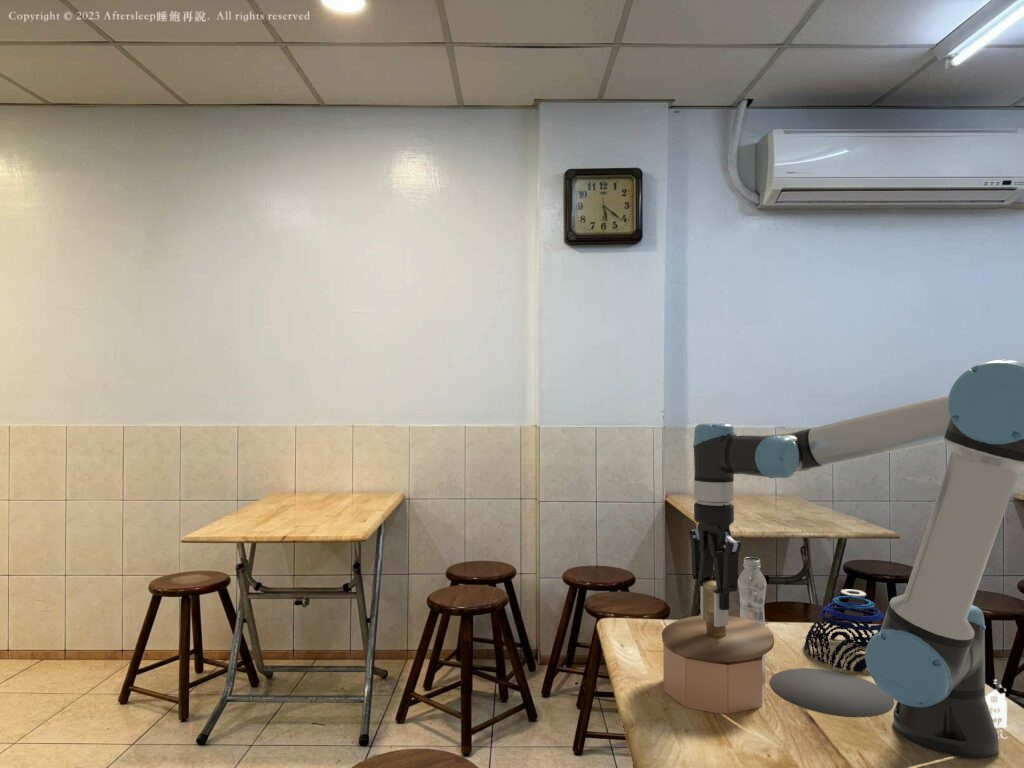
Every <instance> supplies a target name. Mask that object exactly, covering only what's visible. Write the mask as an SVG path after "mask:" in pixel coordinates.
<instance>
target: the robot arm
mask: <svg viewBox="0 0 1024 768" xmlns="http://www.w3.org/2000/svg"><path fill="white" fill-rule="evenodd" d="M693 435H694V437H693V445H692V448H693V460H694V461H693V464H694V465H693V466H694V468H693V469H694V476H693V478H694V479H693V499H694V500H695V503H694V504H693V520H694V521H695V522H696V523H698V525H697V528H695V529H689V530H688V534H689V540H690V547H691V548H690V549H691V550H690V551H691V574H692V576H691V577H692V579H693V580H695V581H697V584H698V585H699V600H700V616H701V619H702V620H706V615H705V603H704V591H703V583H704V582H706V581H714V580H713V579H712V578H713V570H714V577H715V581H716V586H717V590H714V626H715V627H720V626H728V616H729V609H730V593H732V592H737V591H738V578H739V557H740V554H739V553H740V550H741V547H742V542H741V541H740V540H735V539H734V538H733V537H732V533H731V530H730V525H731V524H733V523H734V521H735V506H734V505H733V503H732V502H733V501H734V500H735V499H734V480H735V479H734V478H735V477H734V476H735V475H744V476H745V475H747V476H754V477H755V476H757V477H762V478H763V477H764V478H769V479H776V478H777V479H788V478H792V476H793V475H794V473H796V472H804V471H808V470H811V469H815V468H820V467H824V466H828V465H832V464H840V463H843V462H849V461H854V460H859V459H864V458H868V457H874V456H878V455H884V454H888V453H889V454H890V453H894V452H899V451H904V450H910V449H915V448H918V447H920V448H921V447H924V446H929V445H935V444H939V443H944V442H945V444H946V445H947V447H948V448H949V451H950V457H949V459H948V462H947V465H946V468H945V471H944V475H943V477H942V480H941V483H940V486H939V489H938V493H937V495H936V499H935V501H934V504H933V507H932V510H931V513H930V516H929V519H928V522H927V525H926V528H925V532H924V533H923V538H922V540H921V543H920V546H919V549H918V551H917V555H916V558H915V561H914V564H913V567H912V570H911V573H910V576H909V579H908V583H907V586H906V588H905V590H904V591H905V592H904V593H902V594H900V595H897V596H893V597H892V598H891V599H890V601H889V603H888V606H887V610H886V612H885V614H884V620H882V621H883V622H882V623H883V624H882V623H881V624H882V627H881V629H880V631H879V632H878V631H877V632H874V634H875V635H873V636H872V638H871V639H870V641H869V643H868V645H867V647H865V650H866V652H864V654H865V656H864V658H865V660H866V665H867V667H866V669H867V671H868V674H870V677H871V678H872V679H873V683H874V684H876V685H877V686H878V687H879V688H880V689H881V690H882V691H883V692H884V693H886V694H887V695H888V696H890V697H891V698H893V700H894V701H896V706H895V707H894V709H893V717H892V718H893V727H894V729H895V730H896V732H897V733H898V734H899V735H900V736H902V737H903V738H904V739H906V740H908V741H910V742H911V743H913V744H915V745H917V746H920V747H922V748H924V749H927V750H931V751H933V752H937V753H941V754H945V755H950V756H952V757H954V758H960V759H961V758H963V759H984V758H989V757H992V756H994V755H996V754H997V753H998V752H999V748H1000V747H999V733H998V730H997V728H996V726H995V724H994V721H993V717H992V714H991V711H990V709H989V705H988V703H987V699H986V647H985V646H986V642H985V641H986V636H985V635H986V634H985V631H986V628H987V626H986V625H985V623H986V622H985V616H984V612H983V610H982V609H980V607H978V606H976V605H974V604H973V602H974V600H975V597H976V594H977V591H978V588H979V586H980V583H981V580H982V577H983V575H984V572H985V569H986V566H987V563H988V561H989V558H990V555H991V552H992V549H993V546H994V543H995V540H996V538H997V536H998V535H997V534H998V532H999V530H1000V526H1001V524H1002V521H1003V519H1004V515H1005V512H1006V509H1007V507H1008V504H1009V502H1010V498H1011V496H1012V492H1013V489H1014V487H1015V485H1016V481H1017V478H1018V476H1019V473H1020V472H1021V471H1023V470H1024V362H1021V361H1018V360H1011V359H995V360H989V361H985V362H981V363H979V364H977V365H974V366H973V367H972V366H971V368H969V369H967V370H966V371H964V372H962V374H961V375H959V376H958V378H957V379H956V380H955V382H954V383H953V384H952V386H951V389H950V391H949V394H945V395H942V396H937V397H933V398H930V399H925V400H921V401H917V402H914V403H909V404H906V405H902V406H901V405H900V406H897V407H893V408H889V409H884V410H881V411H876V412H872V413H869V414H863V415H860V416H857V417H851V418H848V419H844V420H840V421H836V422H831V423H828V424H824V425H820V426H816V427H812V428H808V429H802V430H799V431H795V432H789V433H783V434H769V435H749V434H748V435H744V434H743V435H740V434H737V433H735V430H734V426H733V425H732V424H729V423H698V424H697V425H696V426H695V428H694V434H693Z"/></svg>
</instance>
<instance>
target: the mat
mask: <svg viewBox="0 0 1024 768" xmlns="http://www.w3.org/2000/svg"><path fill="white" fill-rule="evenodd" d="M769 686H770V688H771V690H772V691H773V692H774V693H775V694H776V695H777V696H779V697H780V698H781V699H783V700H785V701H786V702H789V703H790V704H792V705H796V706H798V707H799V708H803V709H806V710H809V711H813V712H816V713H819V714H820V713H821V714H824V715H830V716H836V717H846V718H870V717H878V716H881V715H884V714H887V713H888V712H890V711H892V710H893V708H894V705H895V700H894V699H893V698H891V697H890V696H888V695H887V694H886V693H884V692H883V691H882V690H881V689H880V688H879V687H878V686H877V684H876V683H875V682H872V681H869V680H868V679H864V678H861V677H859V676H856V675H852V674H849V673H845V672H840V671H836V670H830V669H823V668H811V667H810V668H807V667H805V668H804V667H803V668H791V669H789V668H788V669H785V670H782V671H779V672H777V673H775V674H773V675H772V676H771V677H770V679H769Z"/></svg>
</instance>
